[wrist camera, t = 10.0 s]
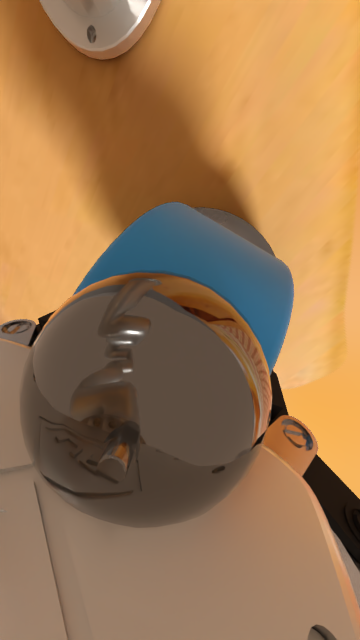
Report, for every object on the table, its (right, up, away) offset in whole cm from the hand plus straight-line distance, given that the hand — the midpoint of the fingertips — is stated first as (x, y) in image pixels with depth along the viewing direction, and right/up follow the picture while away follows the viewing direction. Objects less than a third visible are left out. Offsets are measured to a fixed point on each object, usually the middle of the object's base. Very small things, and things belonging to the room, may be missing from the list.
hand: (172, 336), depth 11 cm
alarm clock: (+2, +3, +6) cm, 7 cm away
